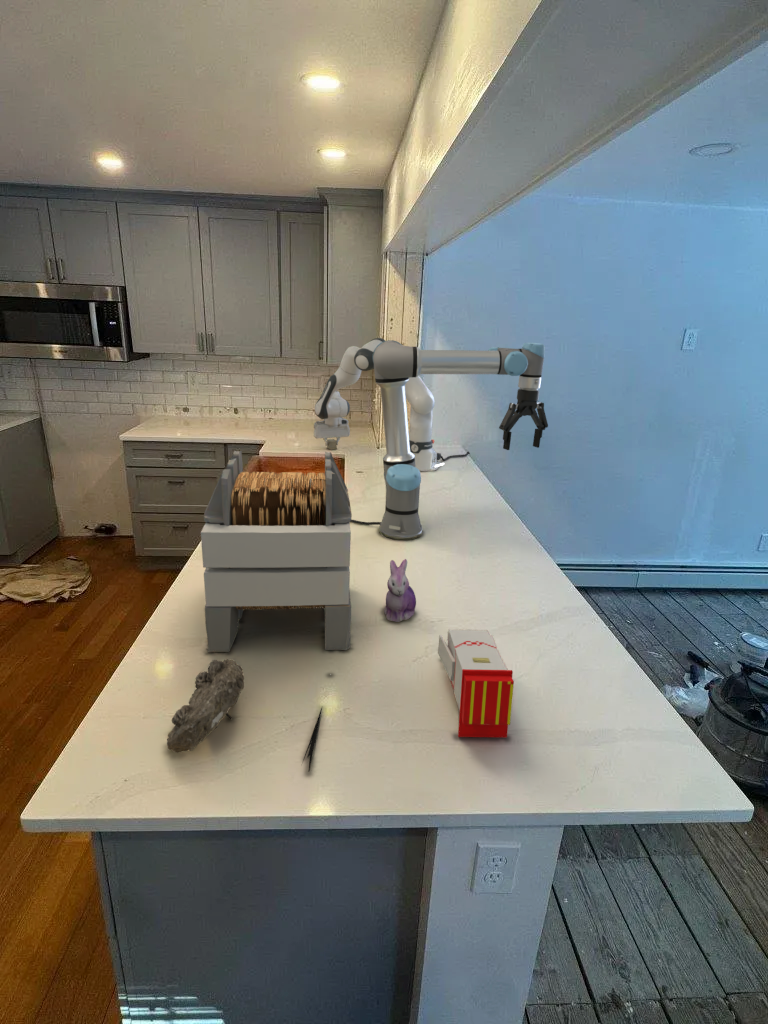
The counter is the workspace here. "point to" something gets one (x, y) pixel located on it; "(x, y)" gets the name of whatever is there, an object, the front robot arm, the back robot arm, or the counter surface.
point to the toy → (478, 682)
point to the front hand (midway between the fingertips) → (521, 448)
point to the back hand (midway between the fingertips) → (331, 445)
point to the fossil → (206, 705)
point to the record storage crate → (277, 549)
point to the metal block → (331, 444)
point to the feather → (313, 740)
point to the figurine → (399, 594)
